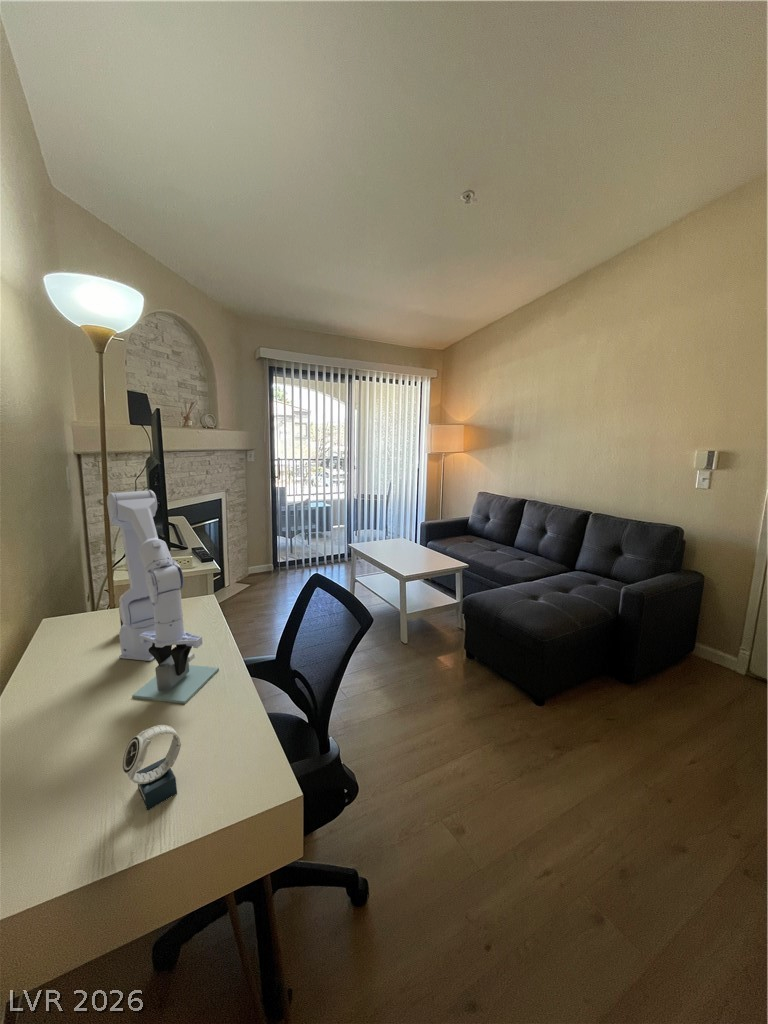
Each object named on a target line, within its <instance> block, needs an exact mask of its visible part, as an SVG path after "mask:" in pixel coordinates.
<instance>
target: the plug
mask: <svg viewBox="0 0 768 1024" xmlns="http://www.w3.org/2000/svg"><path fill="white" fill-rule="evenodd" d="M195 654H196V653H195V652H190V653H189V655H188V658H187V662H186V668H185V671H184V672H183V673H182V674H181V675H180V676H177V674H176V671H175V664H174V660H173V658H172V656H170V657H169V658H167V659H166V660H165V661H163V662H162V663H161V664H160V665H159V664H158V665H157V666H156V667H155V676H156V680H157V690H158V691H167V690H169V689H170V688H172V687H173V686H174V685H175V684H176V683H177V682H178V681H179V680H181V679H182V678H183V677H184V676H185V675H186V674H187V673H188V672H189V665H190V662H192V660H194V658H195V657H196V656H195Z"/></svg>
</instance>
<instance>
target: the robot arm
mask: <svg viewBox="0 0 768 1024" xmlns="http://www.w3.org/2000/svg"><path fill="white" fill-rule="evenodd" d="M106 505H107V512H108V518H109V522H110V525H112V526H116V527H118V528H119V530H120V532H121V536H122V537H121V538H122V542H123V543H122V544H123V549H124V550H123V551H124V556H125V562H126V568H127V575H128V582H129V588H128V589H127V590H126V591H124V593H123V594H121V595H122V596H121V597H120V596H119V597H120V600H119V599H118V603H119V602H120V613H119V617H120V616H121V620H122V622H123V625H122V627H121V626H120V629H119V635H118V636H119V645H120V650H121V651H120V652H121V654H120V655H119V658H120V659H126V660H127V659H128V660H136V661H147V662H151V661H154V659H155V661H156V663H157V664H158V665H160V664H161V663H162V662H163V661H165V660H166V659H167V658H169V657H170V656H172V658H173V660H174V664H175V671H176V674H177V676H180V675H181V674H182V673H183V672H184V671H185V668H186V662H187V658H188V655H189V653H191V650H192V648H193V649H198V648H200V647H201V646H202V645H203V636H201V635H195V634H193V633H190V632H188V631H185V626H184V615H183V603H182V591H181V589H183V588H184V586H185V577H184V574H183V570H182V567H181V566H180V564H179V563H178V562H177V561H176V560H174V559H173V558H172V555H171V553H170V550H169V548H168V547H169V546H168V544H167V543H166V541H164V540H162V539H160V538H159V535H158V532H157V528H156V525H155V521H154V517H155V516H156V512H157V510H158V500H157V495H156V493H155V492H154V491H153V490H152V489H147V490H136V491H124V492H123V491H122V492H109V494H108V495H107V496H106ZM147 596H148V597H147ZM143 597H144V598H143ZM134 599H136V600H134ZM172 646H174V647H172Z"/></svg>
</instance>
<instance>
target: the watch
mask: <svg viewBox="0 0 768 1024" xmlns="http://www.w3.org/2000/svg"><path fill="white" fill-rule="evenodd" d="M165 734H169V735H172V739H171V743H170V747H169V749H168V751H167V753H166V755H165V757H164V758H161V759H159V760H158V761H156V762H153V763H151V764H150V765H148V766H146V767H144V768H142V767H143V765H144V762H145V759H146V757H147V753H148V748H149V745H150V744H151V741H152V739H153V738H155V737H157V736H160V735H165ZM181 747H182V742H181V739H180V736H179V735H178V733H177V731H176V730H175V729H174V727H172V726H170V725H167V724H158V725H154V726H151V727H149V728H146V729H145V730H142V731H141V732H139V734H137V735H136V736H133V737H132V738H131V739H130V741H129V742H128V744H127V746H126V749H125V752H124V755H123V760H122V769H123V773H124V774H127V776H128V778H129V780H130V781H131V782H132V783H134V784H137V789H138V793H139V794H140V797H141V800H142V802H143V804H144V806H146V807H145V809H146V811H147V810H148V811H149V810H151V809H153V808H154V807H156V806H159V805H160V804H162V803H163V802H165V801H167V800H169V799H170V797H171V796H172V797H174V796H175V794H176V795H177V794H178V789H177V780H176V775H175V774H174V772H173V770H172V767H173V766H174V764H175V762H176V760H177V759H178V756H179V754H180V750H181ZM172 797H171V798H172ZM168 798H169V799H168ZM166 799H167V800H166ZM161 802H162V803H161Z"/></svg>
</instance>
